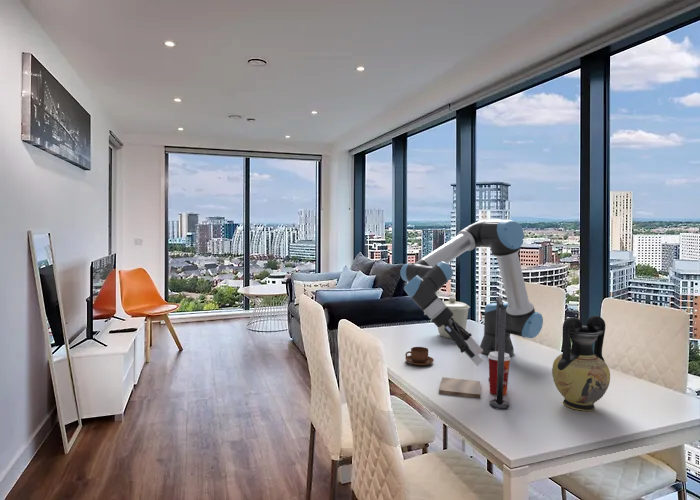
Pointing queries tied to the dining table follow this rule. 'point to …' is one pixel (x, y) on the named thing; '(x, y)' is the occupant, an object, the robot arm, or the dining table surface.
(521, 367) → the dining table surface
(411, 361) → the cup and saucer
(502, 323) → the frame
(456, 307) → the canister
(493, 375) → the paper cup
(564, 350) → the amphora
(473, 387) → the walnut board
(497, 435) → the dining table surface
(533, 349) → the dining table surface
